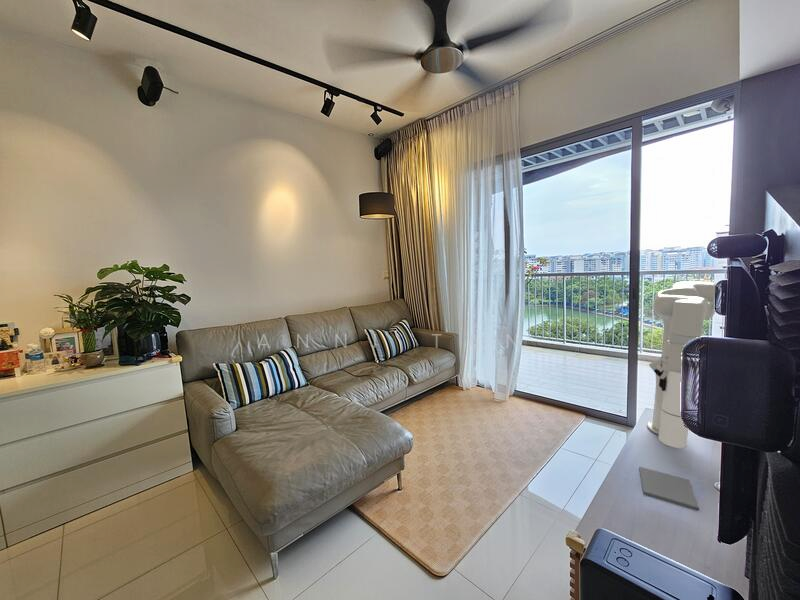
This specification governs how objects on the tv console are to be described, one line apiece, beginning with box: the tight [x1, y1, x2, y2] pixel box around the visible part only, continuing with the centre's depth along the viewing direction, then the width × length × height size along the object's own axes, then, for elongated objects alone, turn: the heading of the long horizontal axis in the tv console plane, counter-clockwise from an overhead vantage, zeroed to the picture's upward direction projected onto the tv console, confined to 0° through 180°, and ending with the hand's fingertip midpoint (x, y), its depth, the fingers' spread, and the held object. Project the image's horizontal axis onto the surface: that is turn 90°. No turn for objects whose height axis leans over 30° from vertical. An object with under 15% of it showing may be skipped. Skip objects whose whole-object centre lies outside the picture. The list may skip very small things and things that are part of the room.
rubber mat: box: [638, 466, 700, 510], centre depth 112 cm, size 14×14×1 cm
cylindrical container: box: [658, 371, 689, 449], centre depth 107 cm, size 7×7×25 cm
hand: (678, 391), depth 106 cm, fingers closed on cylindrical container, 7 cm apart
